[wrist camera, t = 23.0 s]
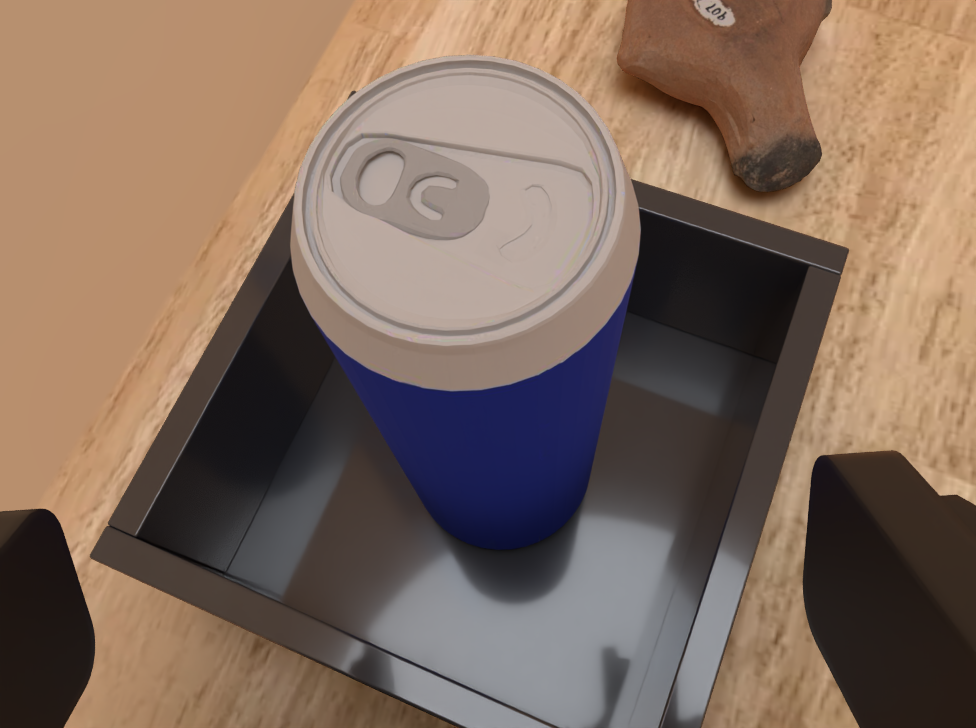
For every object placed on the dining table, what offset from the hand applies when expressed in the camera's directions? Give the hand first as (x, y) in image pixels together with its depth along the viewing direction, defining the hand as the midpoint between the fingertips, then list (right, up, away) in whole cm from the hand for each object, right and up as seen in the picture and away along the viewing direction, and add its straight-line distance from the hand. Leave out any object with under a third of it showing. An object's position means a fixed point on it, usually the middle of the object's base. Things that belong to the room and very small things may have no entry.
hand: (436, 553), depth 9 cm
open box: (+1, -1, +17) cm, 17 cm away
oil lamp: (+9, +12, +22) cm, 27 cm away
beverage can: (+1, -1, +17) cm, 17 cm away
